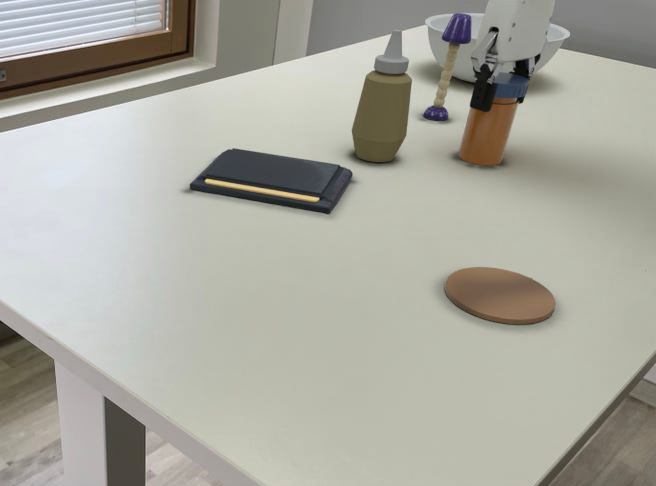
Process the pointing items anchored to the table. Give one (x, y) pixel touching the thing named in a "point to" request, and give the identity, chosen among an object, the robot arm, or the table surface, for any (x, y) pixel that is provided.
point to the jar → (488, 132)
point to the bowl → (463, 60)
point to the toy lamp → (450, 61)
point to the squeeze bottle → (383, 105)
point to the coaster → (500, 295)
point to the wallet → (275, 179)
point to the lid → (510, 85)
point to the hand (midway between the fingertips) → (496, 104)
